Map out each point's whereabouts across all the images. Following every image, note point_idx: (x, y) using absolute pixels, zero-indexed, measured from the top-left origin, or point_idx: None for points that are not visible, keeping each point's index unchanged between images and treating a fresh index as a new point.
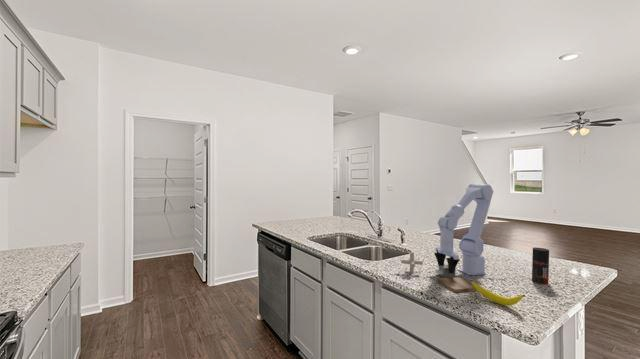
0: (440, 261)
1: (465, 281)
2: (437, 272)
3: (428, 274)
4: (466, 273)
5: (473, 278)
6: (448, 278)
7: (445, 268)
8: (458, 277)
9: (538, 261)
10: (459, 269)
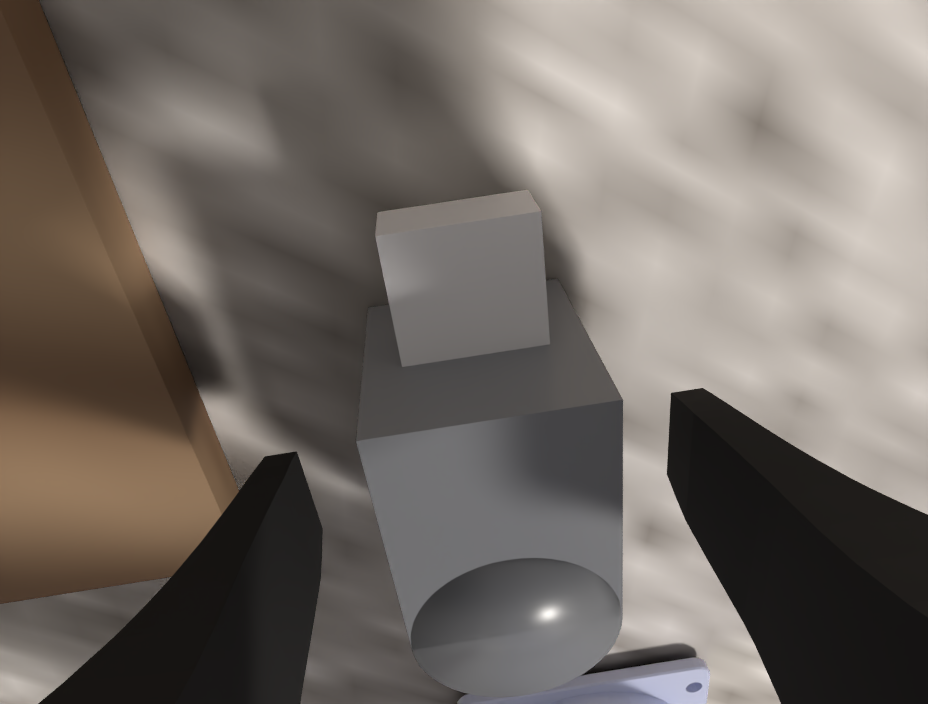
0: (762, 537)
1: (2, 557)
2: (438, 215)
3: (611, 11)
4: None
5: (342, 693)
6: (114, 326)
7: (364, 462)
8: None
9: None
10: (687, 676)
